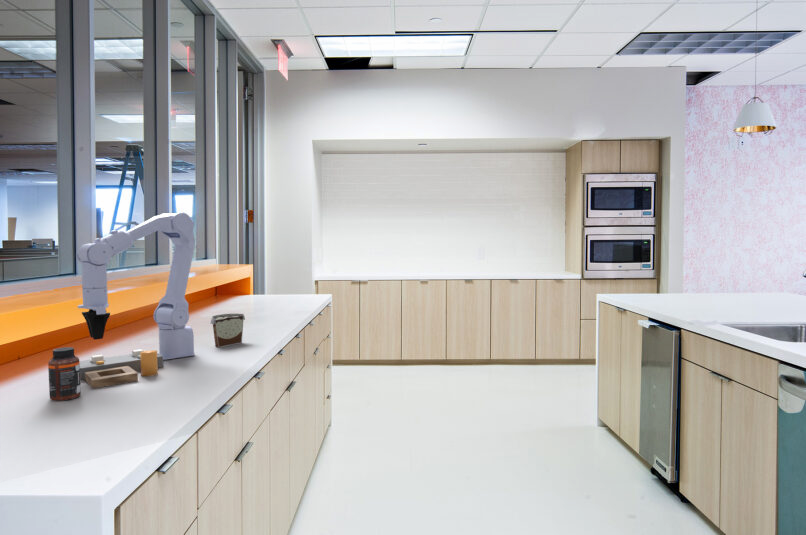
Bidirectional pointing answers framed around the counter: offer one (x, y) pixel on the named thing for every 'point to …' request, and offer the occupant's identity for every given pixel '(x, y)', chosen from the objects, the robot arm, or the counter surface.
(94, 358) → the white cube
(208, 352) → the counter surface
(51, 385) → the supplement bottle
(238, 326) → the food container
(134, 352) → the block
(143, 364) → the cap
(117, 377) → the frame
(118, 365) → the breaker panel
